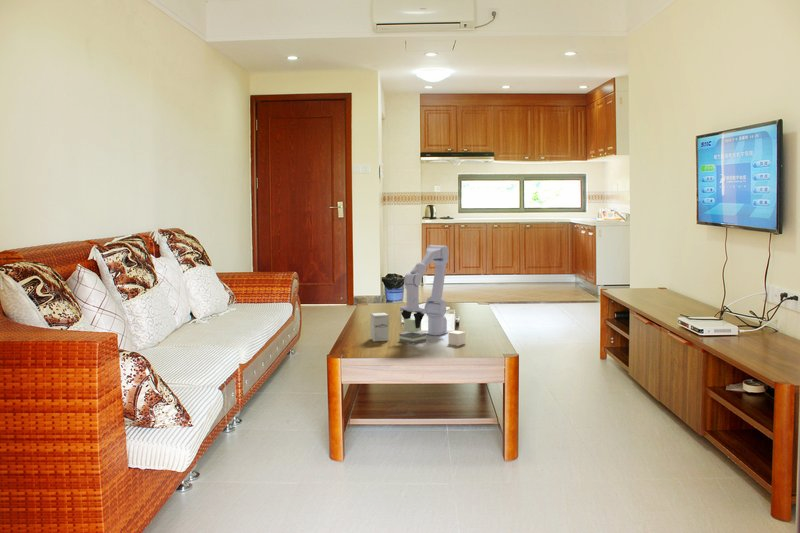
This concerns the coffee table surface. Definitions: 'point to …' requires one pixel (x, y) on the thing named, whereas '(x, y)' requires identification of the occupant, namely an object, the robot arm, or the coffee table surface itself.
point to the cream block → (456, 338)
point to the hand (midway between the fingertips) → (412, 327)
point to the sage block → (411, 325)
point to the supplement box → (379, 327)
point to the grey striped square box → (412, 337)
